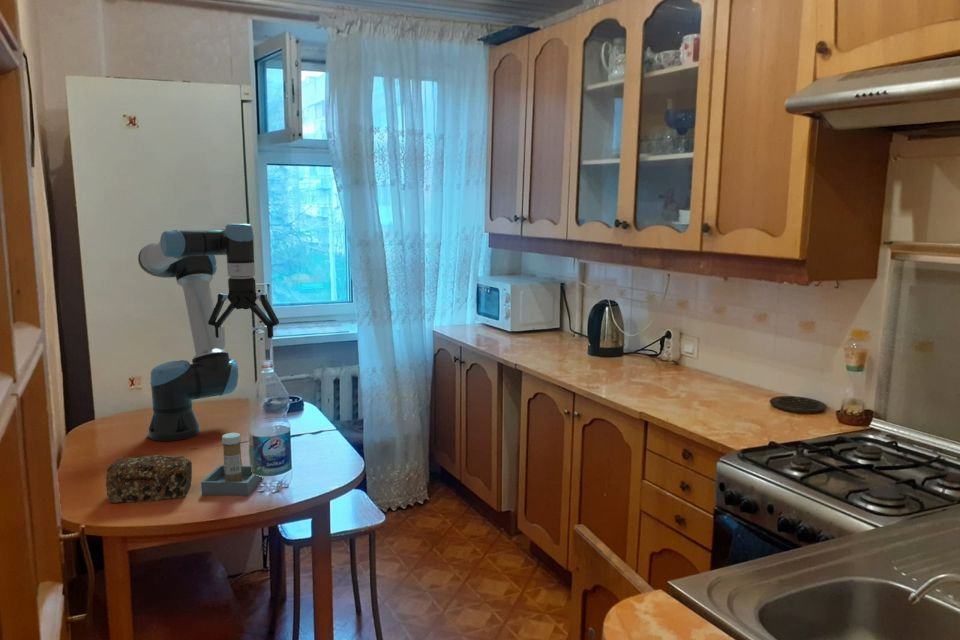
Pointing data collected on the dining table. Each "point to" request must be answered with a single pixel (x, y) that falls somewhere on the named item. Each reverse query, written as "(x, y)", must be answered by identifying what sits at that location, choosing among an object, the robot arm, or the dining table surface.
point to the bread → (148, 478)
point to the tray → (229, 483)
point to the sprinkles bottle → (232, 457)
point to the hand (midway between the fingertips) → (245, 348)
